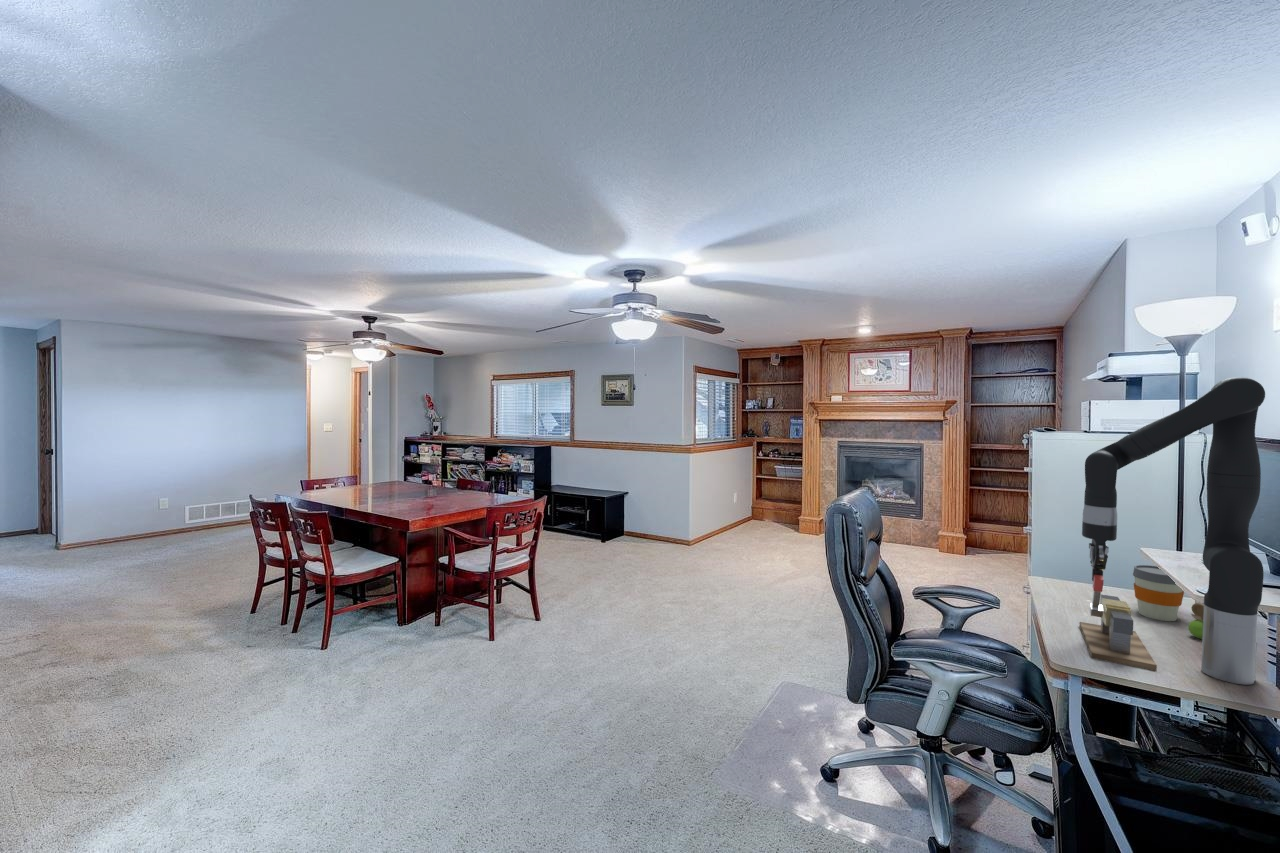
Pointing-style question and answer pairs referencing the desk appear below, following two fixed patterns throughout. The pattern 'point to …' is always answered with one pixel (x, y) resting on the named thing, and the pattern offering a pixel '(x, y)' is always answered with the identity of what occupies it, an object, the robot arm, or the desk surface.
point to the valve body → (1116, 623)
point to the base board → (1101, 651)
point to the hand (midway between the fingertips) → (1097, 582)
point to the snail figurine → (1197, 625)
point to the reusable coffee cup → (1156, 593)
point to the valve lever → (1097, 596)
